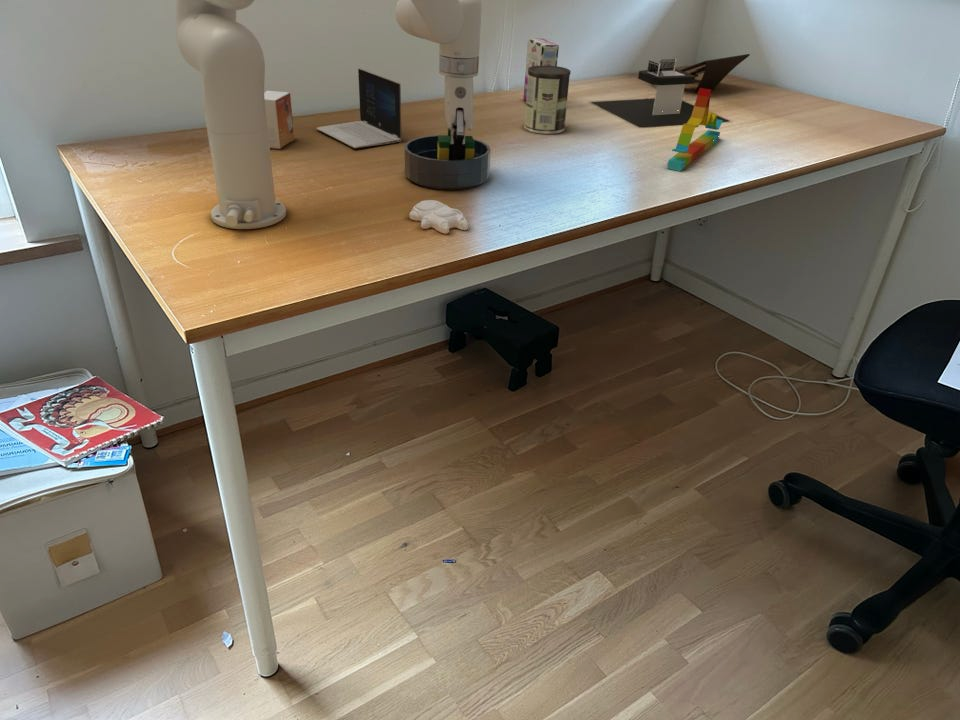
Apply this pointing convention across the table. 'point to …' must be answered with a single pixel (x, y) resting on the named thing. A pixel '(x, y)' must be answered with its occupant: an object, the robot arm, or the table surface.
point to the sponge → (446, 140)
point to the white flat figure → (438, 216)
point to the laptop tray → (714, 70)
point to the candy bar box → (540, 56)
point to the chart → (697, 118)
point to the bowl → (444, 165)
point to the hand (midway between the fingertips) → (455, 159)
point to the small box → (279, 118)
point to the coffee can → (546, 99)
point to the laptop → (372, 114)
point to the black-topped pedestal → (657, 98)
